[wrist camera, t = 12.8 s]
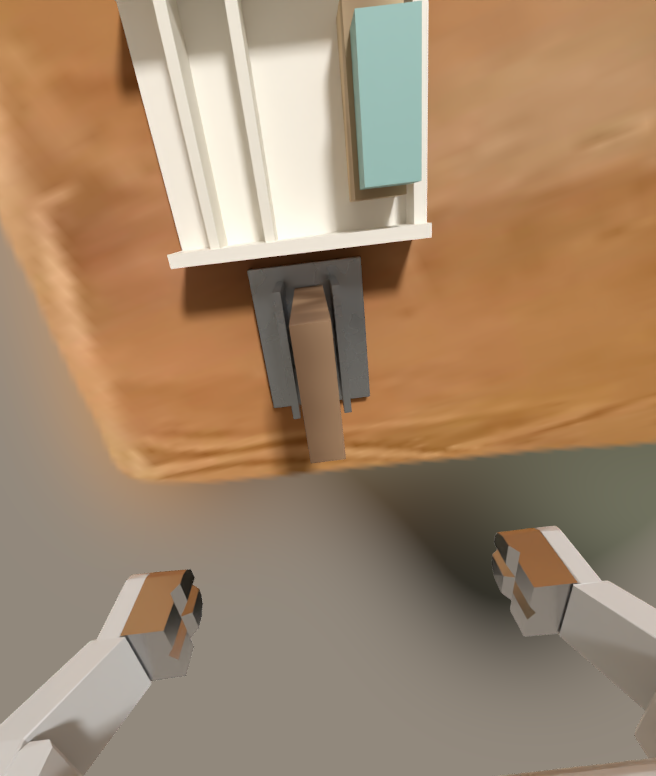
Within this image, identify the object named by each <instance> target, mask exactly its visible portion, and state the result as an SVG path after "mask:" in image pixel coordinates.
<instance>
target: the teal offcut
mask: <svg viewBox="0 0 656 776" xmlns="http://www.w3.org/2000/svg"><path fill="white" fill-rule="evenodd" d="M350 42H351V58H352V73H353V89H354V105H355V121H356V137H357V153H358V169H359V185H360V190H364V189H373V188H381V187H389V186H397V185H406V184H413V183H416V182H419V181H422V1H414V2H406V3H397V4H389V5H380V6H372V7H364V8H355V9H354V13H353V18H352V22H351V26H350Z"/></svg>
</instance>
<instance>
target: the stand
mask: <svg viewBox="0 0 656 776" xmlns="http://www.w3.org/2000/svg"><path fill="white" fill-rule="evenodd" d="M247 272H248V277H249V282H250V288H251V293H252V298H253V303H254V308H255V313H256V318H257V323H258V328H259V333H260V338H261V343H262V349H263V354H264V359H265V364H266V369H267V374H268V379H269V384H270V389H271V394H272V399H273V404H274V408H278V407H286V406H292V412H293V418H294V419H299V418H301V398H300V392H299V386H298V380H297V373H296V367H295V361H294V355H293V348H292V342H291V336H290V329H289V323H290V316H291V310H292V303H293V297H294V290H295V288H301V287H309V286H317V285H323V290H324V294H325V298H326V302H327V306H328V310H329V314H330V319H331V325H332V334H333V343H334V353H335V362H336V371H337V381H338V390H339V399H340V400H342V401H343V406H344V411H345V413H347V412H352V410H351V399H352V398H360V397H368V396H370V391H369V376H368V361H367V346H366V331H365V316H364V301H363V286H362V271H361V257H360V256H355V257H346V258H338V259H330V260H322V261H313V262H305V263H297V264H289V265H280V266H272V267H264V268H256V269H249V270H248V271H247Z"/></svg>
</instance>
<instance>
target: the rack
mask: <svg viewBox="0 0 656 776" xmlns="http://www.w3.org/2000/svg"><path fill="white" fill-rule="evenodd" d="M115 1H116V2H117V5H118V9H119V13H120V17H121V20H122V24H123V28H124V32H125V36H126V39H127V43H128V47H129V51H130V55H131V58H132V62H133V66H134V70H135V73H136V77H137V81H138V85H139V89H140V92H141V96H142V100H143V104H144V107H145V111H146V115H147V119H148V123H149V126H150V130H151V134H152V138H153V142H154V145H155V149H156V153H157V157H158V160H159V164H160V168H161V172H162V176H163V179H164V183H165V187H166V191H167V194H168V198H169V202H170V206H171V210H172V213H173V217H174V221H175V225H176V229H177V232H178V236H179V240H180V244H181V247H182V251H180V252H176V253H173V254H169V255H167V257H168V260H169V264H170V267H171V269H174V268H183V267H191V266H199V265H207V264H216V263H224V262H232V261H240V260H249V259H257V258H265V257H273V256H282V255H290V254H298V253H306V252H315V251H323V250H331V249H339V248H348V247H356V246H364V245H372V244H381V243H389V242H397V241H405V240H414V239H422V238H430V237H432V223H427V125H428V0H404V3H406V2H414V1H422V181H419V182H416V183H413V184H406V189H407V194H405V195H401V196H396V197H388V198H380V199H372V200H363V201H355V202H350V200H349V186H348V173H347V159H346V146H345V132H344V119H343V105H342V92H341V79H340V65H339V52H338V38H337V25H336V17H337V10H338V4H339V0H115Z"/></svg>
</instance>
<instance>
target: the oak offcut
mask: <svg viewBox="0 0 656 776" xmlns="http://www.w3.org/2000/svg"><path fill="white" fill-rule="evenodd" d="M397 3H404V0H339V4H338V10H337V17H336V25H337V38H338V52H339V65H340V79H341V92H342V105H343V119H344V132H345V146H346V159H347V173H348V186H349V200H350V202H355V201H363V200H372V199H380V198H388V197H396V196H401V195H405V194H407V189H406V185H397V186H389V187H381V188H373V189H364V190H360V185H359V169H358V153H357V137H356V121H355V105H354V89H353V73H352V58H351V42H350V26H351V22H352V18H353V13H354V9H355V8H364V7H372V6H380V5H389V4H397Z"/></svg>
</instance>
